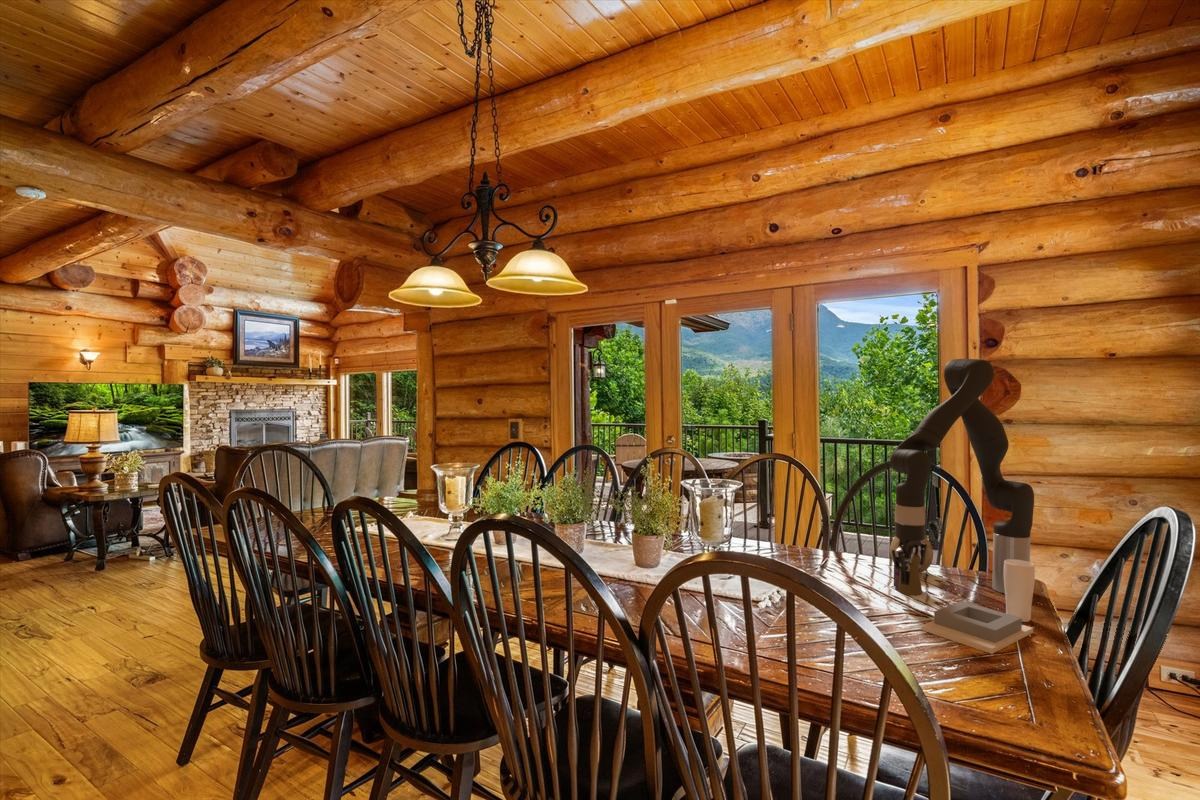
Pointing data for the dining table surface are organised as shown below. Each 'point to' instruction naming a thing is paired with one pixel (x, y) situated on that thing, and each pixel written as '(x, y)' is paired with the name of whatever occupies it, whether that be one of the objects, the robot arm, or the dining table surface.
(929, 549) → the fossilized egg
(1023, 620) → the drinking glass
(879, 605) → the dining table surface
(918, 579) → the cork
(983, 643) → the socket board
